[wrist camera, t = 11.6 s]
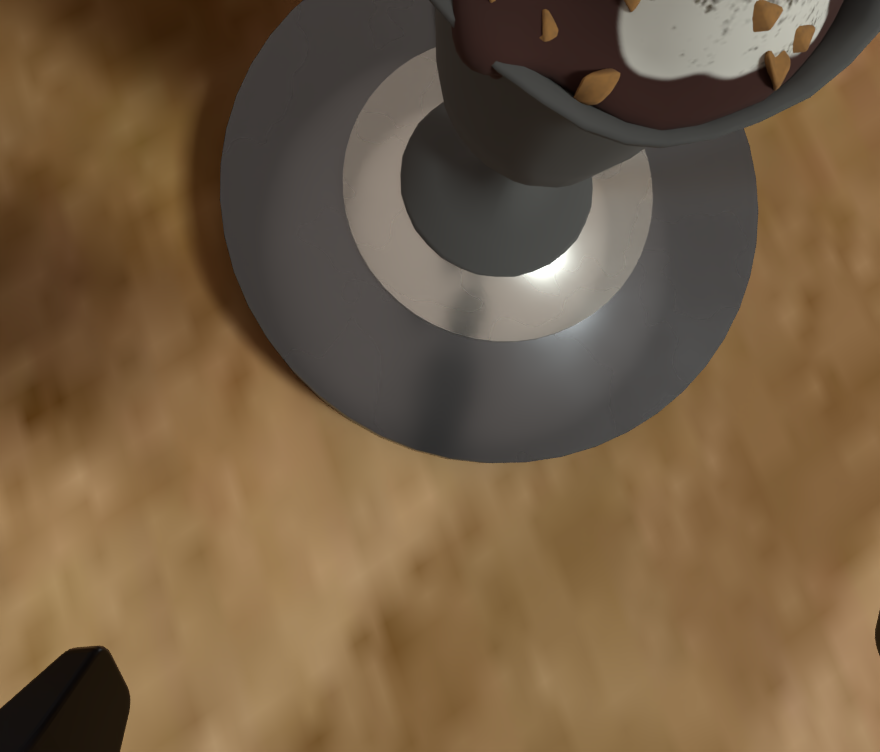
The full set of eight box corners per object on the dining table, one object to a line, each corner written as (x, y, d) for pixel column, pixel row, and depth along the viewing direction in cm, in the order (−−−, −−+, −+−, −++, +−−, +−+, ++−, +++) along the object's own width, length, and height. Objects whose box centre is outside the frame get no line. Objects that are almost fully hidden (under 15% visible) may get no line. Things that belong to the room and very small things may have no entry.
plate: (789, 403, 20) (868, 392, 17) (284, 516, 19) (269, 527, 15) (668, -62, 22) (722, -152, 18) (184, 0, 20) (151, -88, 17)
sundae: (307, 172, 18) (74, -1105, 3) (501, 11, 19) (977, -1506, 4) (489, 367, 18) (1076, -50, 3) (673, 195, 19) (1746, -712, 4)
